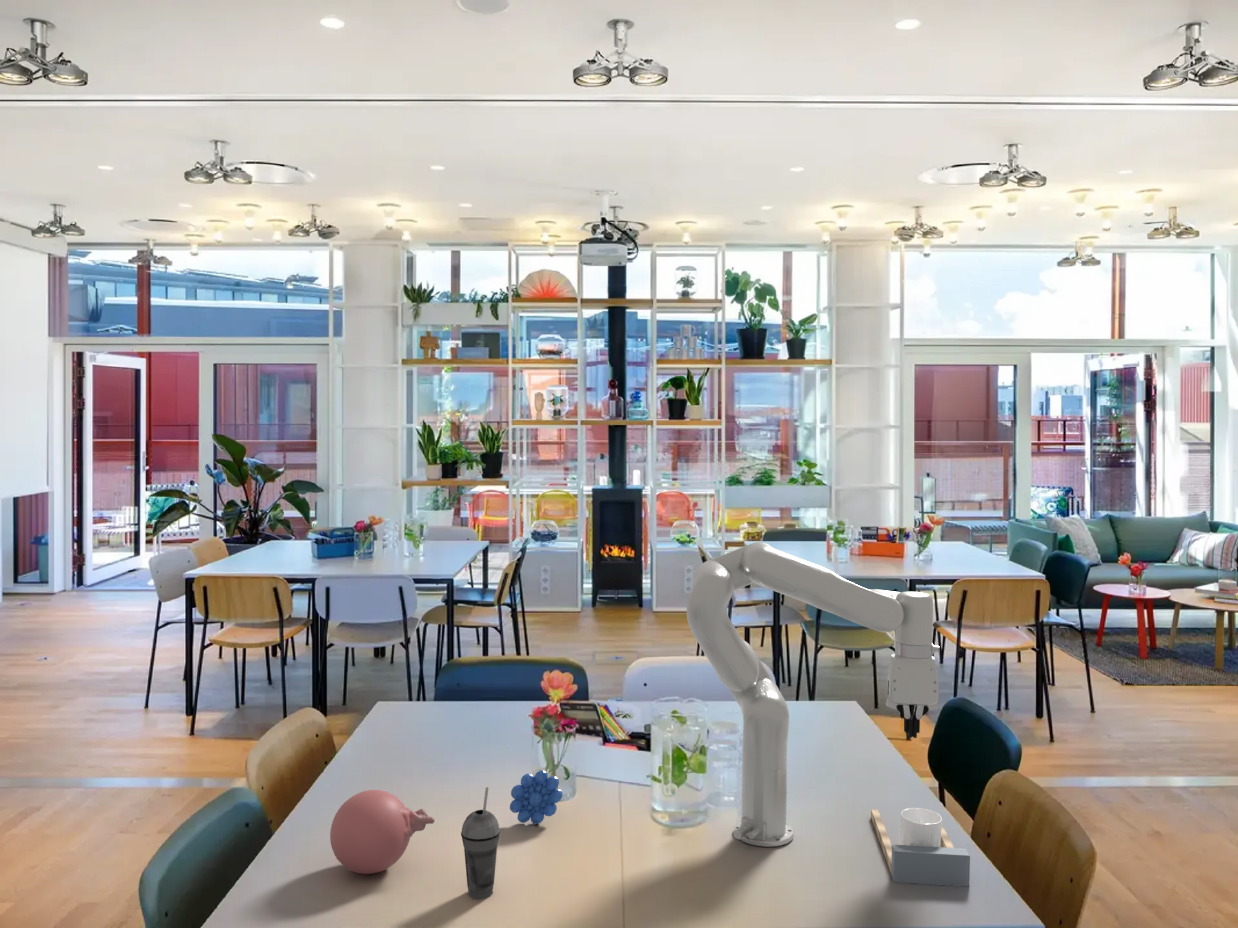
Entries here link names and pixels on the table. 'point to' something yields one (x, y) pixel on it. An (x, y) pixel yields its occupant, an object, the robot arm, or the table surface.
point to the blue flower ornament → (535, 797)
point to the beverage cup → (480, 851)
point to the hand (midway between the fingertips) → (911, 735)
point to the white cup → (921, 827)
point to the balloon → (374, 831)
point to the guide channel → (885, 839)
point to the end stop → (930, 865)
